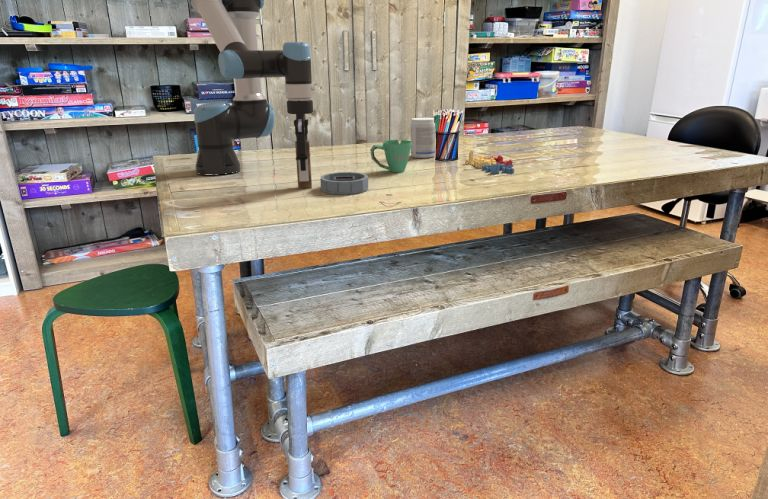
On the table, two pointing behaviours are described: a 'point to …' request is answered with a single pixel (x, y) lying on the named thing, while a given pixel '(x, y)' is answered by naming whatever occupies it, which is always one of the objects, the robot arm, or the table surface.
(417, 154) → the supplement tub
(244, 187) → the table surface
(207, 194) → the table surface
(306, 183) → the brown wooden block
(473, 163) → the toy parts cluster
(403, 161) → the mug
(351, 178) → the clip
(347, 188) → the grey ridged lid
